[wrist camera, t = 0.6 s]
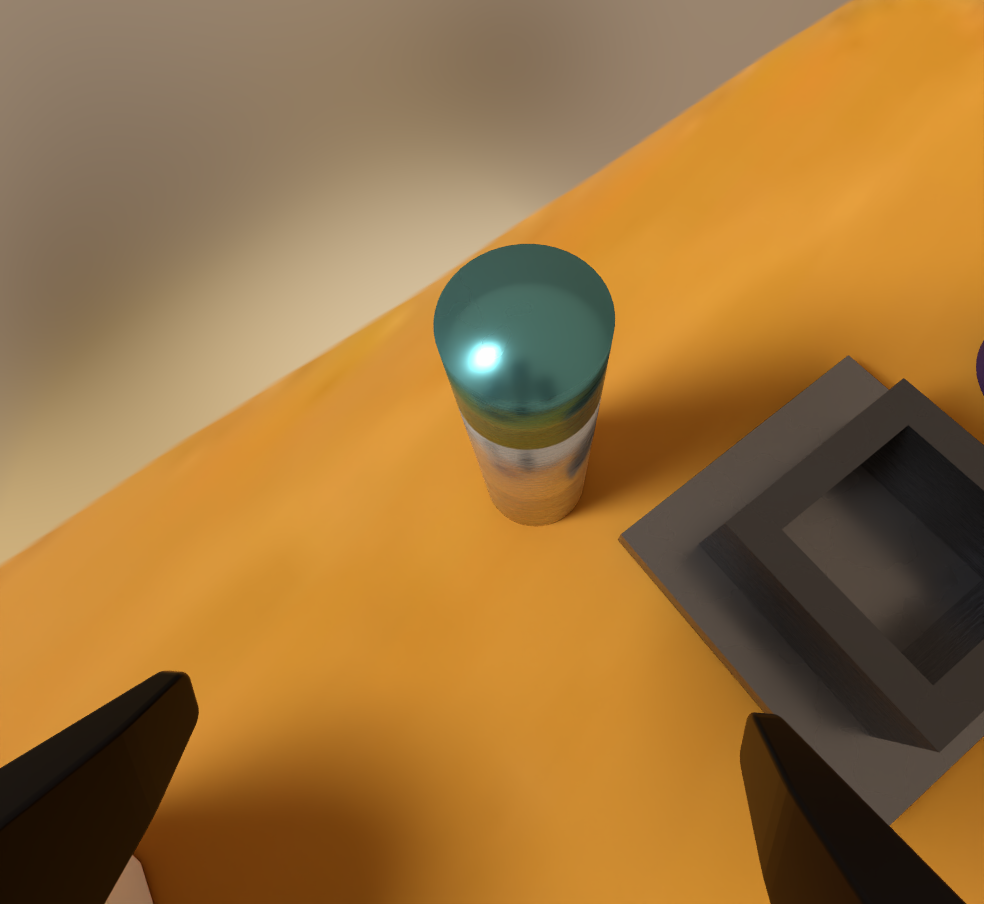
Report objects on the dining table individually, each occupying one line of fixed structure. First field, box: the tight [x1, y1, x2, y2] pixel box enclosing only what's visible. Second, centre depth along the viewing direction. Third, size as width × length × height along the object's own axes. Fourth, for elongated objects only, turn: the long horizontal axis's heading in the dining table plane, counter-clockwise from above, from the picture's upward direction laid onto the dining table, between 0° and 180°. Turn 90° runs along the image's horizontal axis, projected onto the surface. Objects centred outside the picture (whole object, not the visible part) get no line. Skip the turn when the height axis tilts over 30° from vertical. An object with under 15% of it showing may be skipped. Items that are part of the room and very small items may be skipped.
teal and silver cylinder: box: [434, 244, 615, 526], centre depth 18 cm, size 4×4×12 cm
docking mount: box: [618, 355, 984, 825], centre depth 20 cm, size 12×12×4 cm
